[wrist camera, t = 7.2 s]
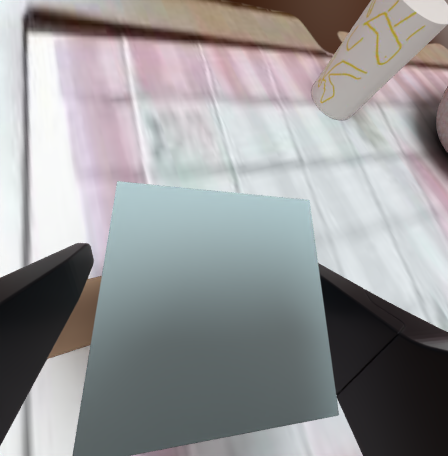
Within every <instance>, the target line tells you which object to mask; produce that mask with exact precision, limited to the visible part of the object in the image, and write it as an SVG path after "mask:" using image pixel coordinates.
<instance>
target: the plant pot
mask: <svg viewBox="0 0 448 456" xmlns="http://www.w3.org/2000/svg"><path fill="white" fill-rule="evenodd" d="M436 129H437V133H438V137H439V140H440V142H441V144H442V146H443V147H444V149H445V150H446V152H447V153H448V87H447V89H446V90H445V92H444V95H443V97H442V99H441V102H440V104H439V107H438V110H437V116H436Z"/></svg>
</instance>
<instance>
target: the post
mask: <svg viewBox="0 0 448 456" xmlns="http://www.w3.org/2000/svg"><path fill="white" fill-rule="evenodd" d="M338 415H339V412H338V405H337V398H336V390H335V383H334V376H333V369H332V361H331V354H330V347H329V340H328V332H327V325H326V318H325V310H324V303H323V296H322V289H321V281H320V274H319V267H318V260H317V252H316V245H315V238H314V231H313V223H312V216H311V209H310V202H309V200H303V199H293V198H283V197H272V196H262V195H252V194H242V193H232V192H221V191H211V190H201V189H191V188H180V187H170V186H160V185H150V184H139V183H129V182H119V181H117V187H116V193H115V199H114V205H113V211H112V217H111V223H110V229H109V236H108V242H107V248H106V254H105V260H104V266H103V272H102V278H101V285H100V291H99V297H98V303H97V309H96V315H95V321H94V327H93V334H92V340H91V346H90V352H89V358H88V364H87V370H86V377H85V383H84V389H83V395H82V401H81V407H80V413H79V419H78V426H77V432H76V438H75V444H74V450H73V456H131V455H136V454H141V453H146V452H151V451H156V450H162V449H167V448H172V447H177V446H182V445H188V444H193V443H198V442H203V441H208V440H213V439H219V438H224V437H229V436H234V435H239V434H245V433H250V432H255V431H260V430H265V429H270V428H276V427H281V426H286V425H291V424H296V423H302V422H307V421H312V420H317V419H322V418H328V417H333V416H338Z"/></svg>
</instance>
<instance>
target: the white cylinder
mask: <svg viewBox="0 0 448 456" xmlns="http://www.w3.org/2000/svg"><path fill="white" fill-rule="evenodd" d="M446 25H448V5H447V3H446V2H445V1H444V0H371V2H370V3H369V4H368V6H367V7H366V9H365V10H364V12H363V13H362V15H361V16H360V18H359V19H358V20H357V22H356V24H355V25H354V26H353V28H352V29H351V31H350V32H349V34H348V35H347V37H346V38H345V39H344V41H343V42H342V44H341V45H340V47H339V48H338V50H337V51H336V53H335V54H334V56H333V57H332V58H331V60H330V61H329V63H328V64H327V66H326V67H325V69H324V70H323V72H322V73H321V75H320V76H319V77H318V79H317V80H316V82H315V83H314V85H313V86H312V89H311V95H312V98H313V101H314V103H315V104H316V106H317V107H318V108H319V109H320V110H321V111H322V112H323V113H324V114H325V115H327V116H329V117H331V118H333V119H336V120H346V119H349V118H350V117H351V116H352V115H353V114H354V113H355V112H356V111H357V110H358V109H360V108H361V107H362V106H363V105H364V104H365V103H366V102H367V101H368V100H369V99H370V98H371V97H372V96H373V95H374V94H375V93H376V92H377V91H378V90H379V89H380V88H382V87H383V86H384V85H385V84H386V83H387V82H388V81H389V80H390V79H391V78H392V77H393V76H394V75H395V74H396V73H397V72H398V71H399V70H400V69H401V68H403V67H404V66H405V65H406V64H407V63H408V62H409V61H410V60H411V59H412V58H413V57H414V56H415V55H416V54H417V53H418V52H419V51H420V50H421V49H422V48H423V47H425V46H426V45H427V44H428V43H429V42H430V41H431V40H432V39H433V38H434V37H435V36H436V35H437V34H438V33H439V32H440V31H441V30H442V29H443V28H444V27H446Z"/></svg>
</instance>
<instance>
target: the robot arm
mask: <svg viewBox="0 0 448 456" xmlns="http://www.w3.org/2000/svg"><path fill="white" fill-rule="evenodd" d="M93 262H94V259H93V255H92V250H91V246H90V245H89V244H88V243H77V244H74V245H72V246H70V247H68V248H65V249H63V250H61V251H59V252H56V253H54V254H52V255H50V256H48V257H45V258H43V259H41V260H39V261H37V262H34V263H32V264H30V265H28V266H25V267H23V268H21V269H19V270H17V271H14V272H12V273H10V274H8V275H5V276H3V277H1V278H0V445H1V443H2V442H3V440H4V438H5V436H6V434H7V432H8V430H9V429H10V427H11V425H12V423H13V421H14V419H15V417H16V416H17V414H18V412H19V410H20V408H21V406H22V404H23V403H24V401H25V399H26V397H27V395H28V393H29V391H30V390H31V388H32V386H33V384H34V382H35V380H36V378H37V377H38V375H39V373H40V371H41V369H42V367H43V365H44V364H45V362H46V360H47V358H48V356H49V354H50V352H51V351H52V349H53V347H54V345H55V343H56V341H57V339H58V338H59V336H60V334H61V332H62V330H63V328H64V326H65V325H66V323H67V321H68V319H69V317H70V315H71V313H72V312H73V310H74V308H75V306H76V304H77V302H78V300H79V298H80V296H81V294H82V291H83V289H84V286H85V284H86V281H87V279H88V276H89V274H90V271H91V269H92V266H93ZM318 267H319V274H320V281H321V289H322V296H323V303H324V310H325V318H326V325H327V332H328V340H329V347H330V354H331V361H332V369H333V376H334V383H335V390H336V395H337V399H338V401H339V403H340V406H341V408H342V410H343V412H344V414H345V417H346V419H347V421H348V423H349V425H350V428H351V430H352V432H353V434H354V437H355V439H356V441H357V443H358V445H359V448H360V450H361V452H362V454H363V456H448V332H446V331H444V330H442V329H440V328H438V327H436V326H434V325H432V324H430V323H428V322H426V321H424V320H422V319H420V318H418V317H416V316H414V315H412V314H410V313H408V312H406V311H404V310H403V309H401V308H399V307H397V306H395V305H393V304H391V303H389V302H387V301H385V300H383V299H382V298H380V297H378V296H376V295H374V294H373V293H371V292H369V291H367V290H365V289H363V288H362V287H360V286H358V285H356V284H355V283H353V282H351V281H349V280H347V279H346V278H344V277H342V276H340V275H339V274H337V273H335V272H333V271H331V270H330V269H328V268H326V267H324V266H322V265H321V264H319V263H318Z"/></svg>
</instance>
